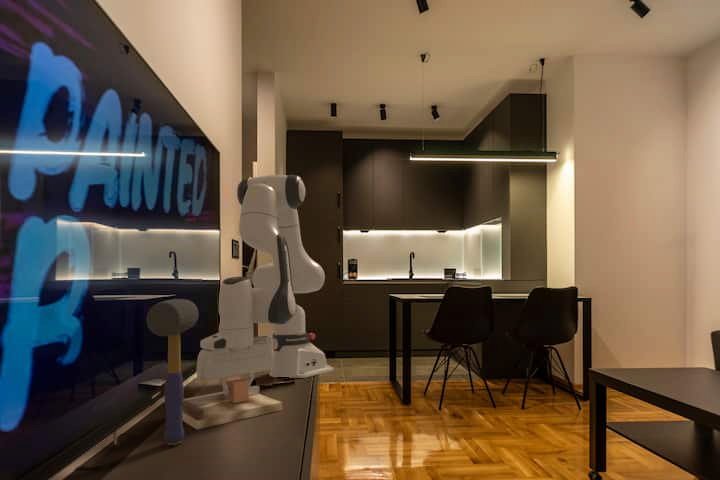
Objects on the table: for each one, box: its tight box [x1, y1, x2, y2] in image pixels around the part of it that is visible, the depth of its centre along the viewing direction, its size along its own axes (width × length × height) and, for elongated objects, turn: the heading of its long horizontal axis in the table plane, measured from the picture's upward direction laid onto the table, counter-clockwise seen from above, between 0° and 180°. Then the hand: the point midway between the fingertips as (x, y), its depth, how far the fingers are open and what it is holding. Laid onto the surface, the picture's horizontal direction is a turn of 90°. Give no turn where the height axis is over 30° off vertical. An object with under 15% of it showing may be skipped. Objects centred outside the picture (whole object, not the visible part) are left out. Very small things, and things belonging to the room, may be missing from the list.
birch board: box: [182, 393, 283, 430], centre depth 122 cm, size 22×14×4 cm, turn 129°
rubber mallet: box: [146, 298, 199, 446], centre depth 102 cm, size 12×8×30 cm, turn 0°
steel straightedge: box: [183, 385, 260, 406], centre depth 127 cm, size 22×2×2 cm, turn 129°
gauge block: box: [225, 377, 249, 403], centre depth 126 cm, size 4×5×5 cm
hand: (237, 392), depth 126 cm, fingers closed on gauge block, 4 cm apart
